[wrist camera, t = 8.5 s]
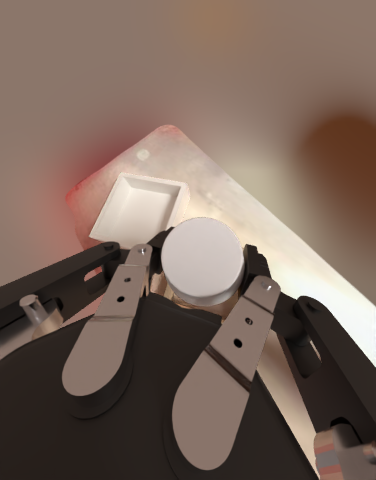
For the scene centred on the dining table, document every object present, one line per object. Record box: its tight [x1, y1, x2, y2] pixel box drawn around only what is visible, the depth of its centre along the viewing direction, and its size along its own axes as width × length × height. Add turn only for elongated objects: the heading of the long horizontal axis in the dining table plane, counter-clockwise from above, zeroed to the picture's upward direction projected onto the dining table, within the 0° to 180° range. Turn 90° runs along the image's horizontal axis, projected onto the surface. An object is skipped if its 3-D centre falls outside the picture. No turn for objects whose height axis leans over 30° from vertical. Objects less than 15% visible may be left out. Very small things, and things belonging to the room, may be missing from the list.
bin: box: [89, 172, 190, 249], centre depth 32 cm, size 16×16×5 cm
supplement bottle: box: [161, 217, 245, 306], centre depth 12 cm, size 5×5×10 cm
